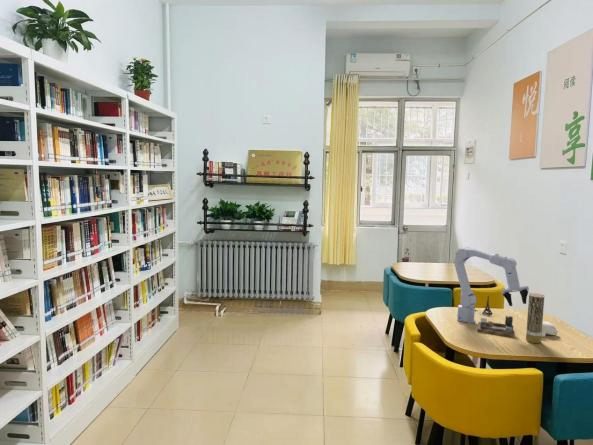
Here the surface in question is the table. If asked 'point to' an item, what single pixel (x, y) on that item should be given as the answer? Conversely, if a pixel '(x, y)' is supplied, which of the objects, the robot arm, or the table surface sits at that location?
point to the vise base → (494, 328)
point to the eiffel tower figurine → (487, 309)
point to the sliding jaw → (508, 322)
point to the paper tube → (535, 317)
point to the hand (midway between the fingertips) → (517, 304)
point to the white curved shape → (548, 329)
